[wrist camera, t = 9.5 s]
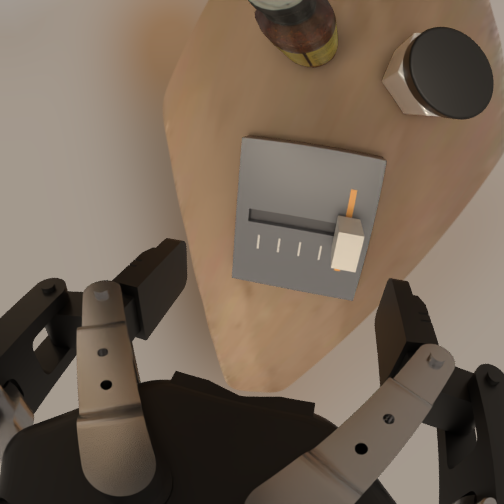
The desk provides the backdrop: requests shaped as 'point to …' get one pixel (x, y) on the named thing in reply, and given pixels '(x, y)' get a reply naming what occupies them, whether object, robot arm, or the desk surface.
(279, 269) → the fader console
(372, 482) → the robot arm
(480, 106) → the jar
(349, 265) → the fader tab
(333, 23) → the sauce bottle
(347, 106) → the desk surface
